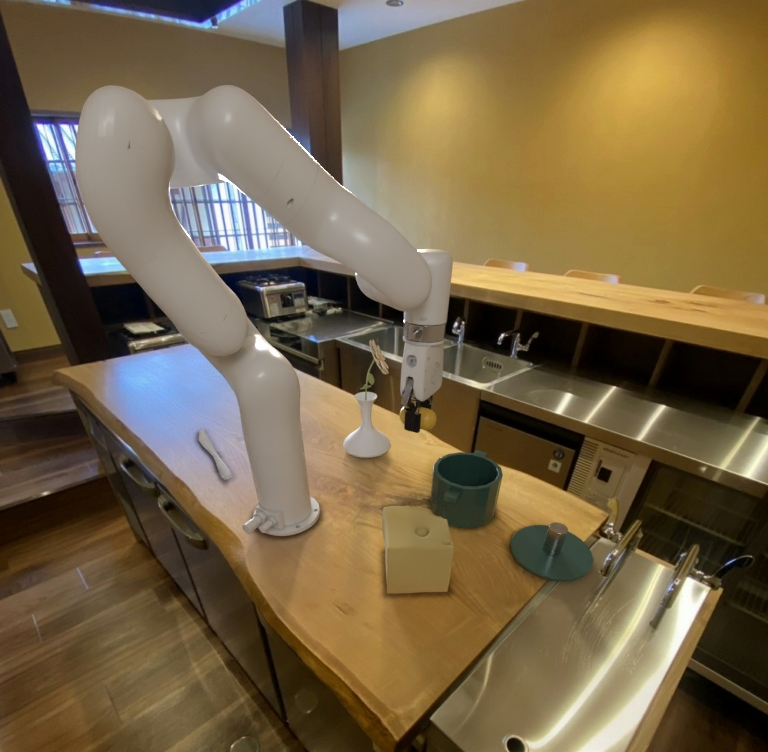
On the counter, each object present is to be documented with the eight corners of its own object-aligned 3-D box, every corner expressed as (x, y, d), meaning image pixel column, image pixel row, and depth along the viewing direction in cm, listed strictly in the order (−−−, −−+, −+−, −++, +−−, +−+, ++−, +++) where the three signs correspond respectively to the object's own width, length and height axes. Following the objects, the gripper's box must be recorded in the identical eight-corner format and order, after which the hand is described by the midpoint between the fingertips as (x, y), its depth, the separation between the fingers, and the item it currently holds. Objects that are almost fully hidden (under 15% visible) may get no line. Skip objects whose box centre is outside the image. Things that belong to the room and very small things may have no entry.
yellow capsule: (438, 427, 86) (441, 407, 84) (430, 435, 83) (432, 415, 81) (404, 418, 89) (405, 399, 86) (395, 426, 86) (396, 406, 83)
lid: (596, 543, 76) (607, 517, 72) (585, 595, 67) (597, 567, 63) (520, 521, 81) (527, 495, 77) (500, 565, 72) (506, 538, 68)
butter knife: (219, 480, 90) (232, 475, 92) (194, 431, 109) (205, 427, 110) (219, 482, 91) (233, 478, 92) (194, 433, 109) (206, 429, 110)
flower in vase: (378, 467, 96) (377, 355, 81) (334, 456, 100) (326, 347, 84) (400, 442, 105) (404, 337, 90) (360, 433, 109) (356, 331, 94)
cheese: (440, 549, 75) (446, 503, 69) (450, 596, 66) (457, 549, 60) (382, 550, 74) (382, 504, 68) (383, 597, 66) (384, 550, 60)
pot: (505, 493, 88) (513, 456, 83) (478, 544, 76) (485, 504, 70) (448, 477, 93) (453, 441, 87) (414, 523, 80) (416, 484, 75)
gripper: (424, 346, 68) (416, 448, 79) (460, 324, 80) (449, 415, 91) (383, 339, 70) (381, 438, 81) (424, 319, 82) (417, 407, 93)
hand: (417, 425), depth 86 cm, fingers closed on yellow capsule, 4 cm apart
